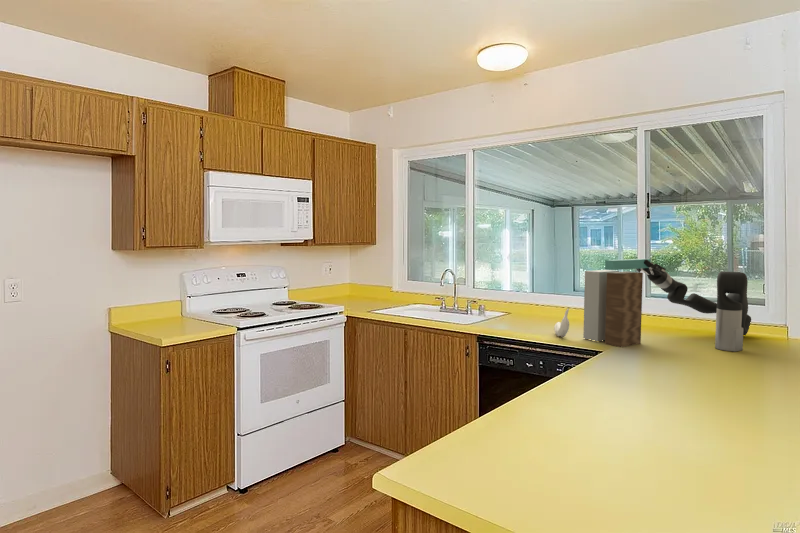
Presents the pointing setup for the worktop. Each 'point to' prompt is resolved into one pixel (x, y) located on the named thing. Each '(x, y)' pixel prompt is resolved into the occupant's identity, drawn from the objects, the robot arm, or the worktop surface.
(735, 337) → the robot arm
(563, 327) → the white tapered lobed shape
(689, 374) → the worktop surface
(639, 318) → the walnut stand
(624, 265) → the teal block
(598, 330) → the grey stand
